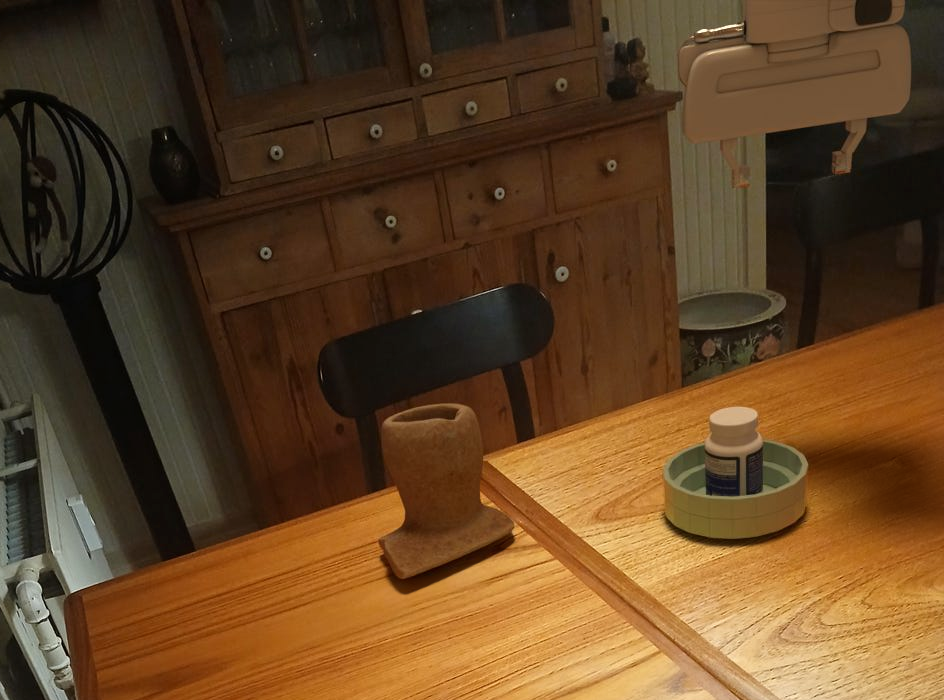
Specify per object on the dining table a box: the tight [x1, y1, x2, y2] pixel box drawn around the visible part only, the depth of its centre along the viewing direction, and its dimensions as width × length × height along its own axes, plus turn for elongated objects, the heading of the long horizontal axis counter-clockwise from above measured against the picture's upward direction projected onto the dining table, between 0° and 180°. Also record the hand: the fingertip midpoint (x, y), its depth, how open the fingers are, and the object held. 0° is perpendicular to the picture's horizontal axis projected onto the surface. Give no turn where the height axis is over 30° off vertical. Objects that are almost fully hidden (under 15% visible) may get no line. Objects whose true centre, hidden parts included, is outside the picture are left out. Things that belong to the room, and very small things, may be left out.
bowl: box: [662, 438, 809, 540], centre depth 102 cm, size 14×14×5 cm
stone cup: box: [377, 403, 515, 580], centre depth 102 cm, size 15×12×15 cm
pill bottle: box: [704, 406, 764, 497], centre depth 100 cm, size 6×6×10 cm
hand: (790, 179), depth 96 cm, fingers open, 8 cm apart
